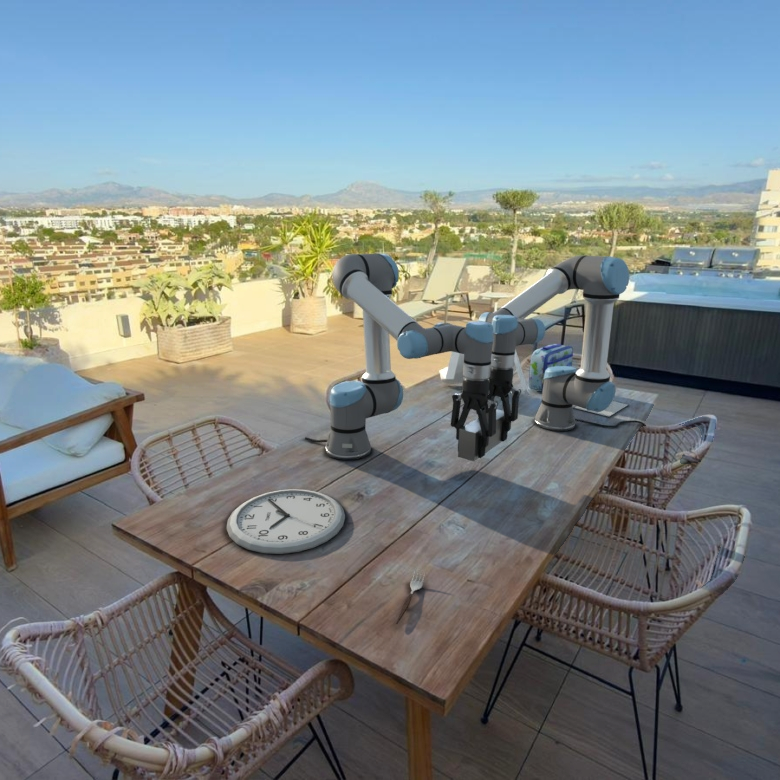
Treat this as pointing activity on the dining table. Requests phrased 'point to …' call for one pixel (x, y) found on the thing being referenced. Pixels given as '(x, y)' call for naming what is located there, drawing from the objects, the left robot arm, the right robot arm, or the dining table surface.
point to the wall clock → (285, 521)
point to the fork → (414, 586)
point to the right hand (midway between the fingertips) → (495, 437)
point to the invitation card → (608, 409)
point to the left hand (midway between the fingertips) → (471, 453)
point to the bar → (478, 437)
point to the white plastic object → (456, 365)
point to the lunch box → (548, 362)
